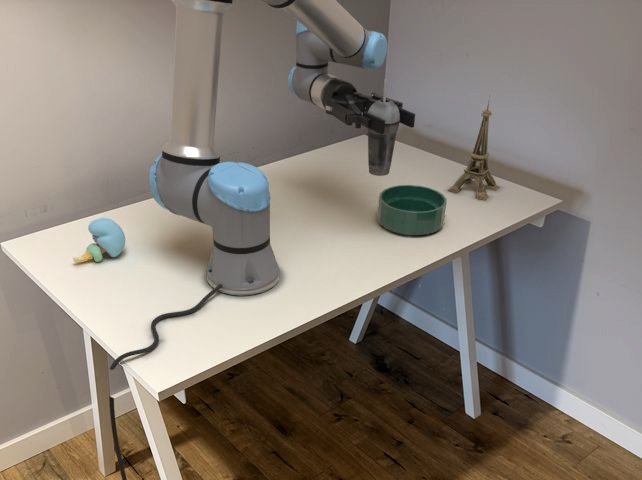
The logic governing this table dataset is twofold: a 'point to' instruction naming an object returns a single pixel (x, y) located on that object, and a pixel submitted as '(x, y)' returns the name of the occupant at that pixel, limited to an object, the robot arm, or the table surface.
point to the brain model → (103, 240)
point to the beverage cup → (382, 136)
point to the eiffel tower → (482, 170)
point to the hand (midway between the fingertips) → (398, 124)
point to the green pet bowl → (411, 209)
